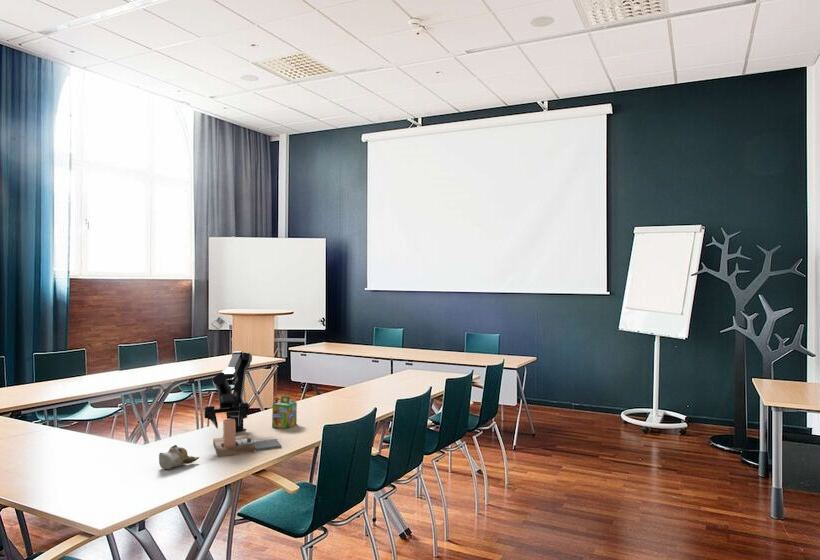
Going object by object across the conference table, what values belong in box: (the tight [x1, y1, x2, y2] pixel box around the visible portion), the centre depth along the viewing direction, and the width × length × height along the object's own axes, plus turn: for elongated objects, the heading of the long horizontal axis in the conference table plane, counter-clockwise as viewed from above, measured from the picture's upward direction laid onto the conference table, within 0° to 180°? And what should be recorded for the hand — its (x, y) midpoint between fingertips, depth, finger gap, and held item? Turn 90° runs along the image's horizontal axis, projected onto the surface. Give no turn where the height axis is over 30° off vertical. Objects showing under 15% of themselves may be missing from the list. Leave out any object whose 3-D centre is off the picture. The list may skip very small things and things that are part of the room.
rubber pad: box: [252, 438, 282, 452], centre depth 254 cm, size 11×11×1 cm
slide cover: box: [236, 437, 254, 446], centre depth 250 cm, size 8×6×2 cm
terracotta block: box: [222, 418, 237, 447], centre depth 248 cm, size 4×4×13 cm
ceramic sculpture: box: [158, 444, 200, 470], centre depth 228 cm, size 11×9×15 cm
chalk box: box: [271, 395, 298, 430], centre depth 288 cm, size 9×9×15 cm
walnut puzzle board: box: [212, 434, 256, 458], centre depth 251 cm, size 20×15×2 cm
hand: (228, 426), depth 250 cm, fingers open, 9 cm apart
